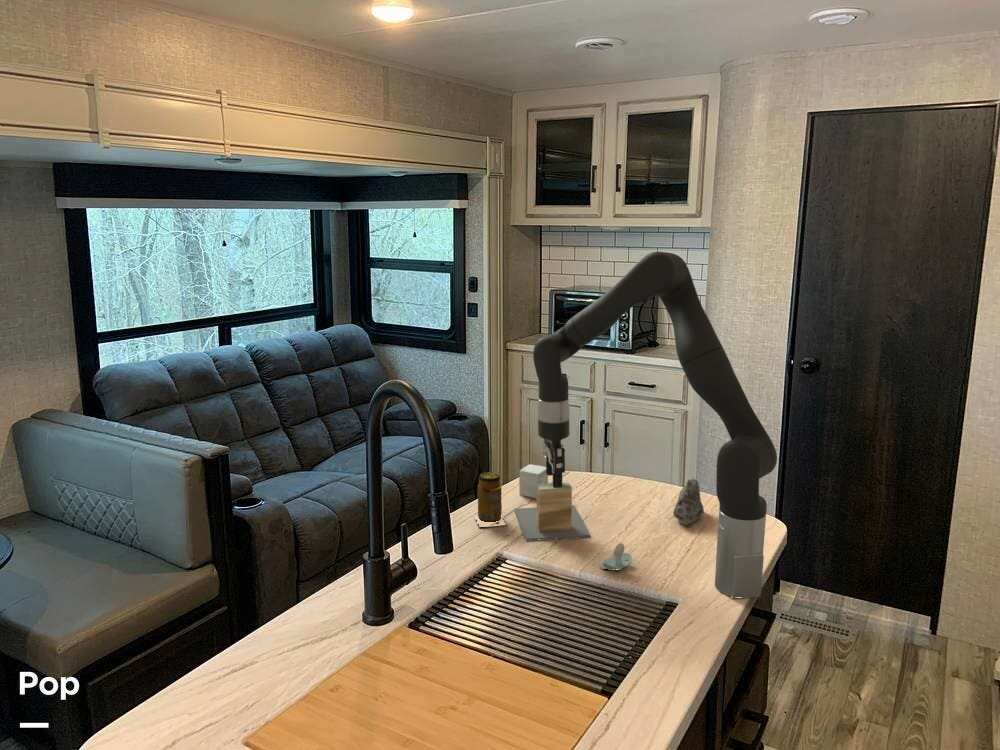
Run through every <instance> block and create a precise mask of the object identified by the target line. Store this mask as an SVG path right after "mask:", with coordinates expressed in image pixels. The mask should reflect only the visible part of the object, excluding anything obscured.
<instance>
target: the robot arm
mask: <svg viewBox="0 0 1000 750" xmlns="http://www.w3.org/2000/svg"><path fill="white" fill-rule="evenodd" d="M657 296H658V297H659V299H660V300H661V302H662V303H663V306H664V308H665V310H666V311H667V313H668V316H669V318H670V320H671V323H672V326H673V332H674V333H673V334H674V340H675V350H676V354H677V358H678V361H679V363H680V365H681V368H682V370H683V372H684V374H685V378H686V379H687V381H688V384H689V385H690V387H691V388H692V389H693V391H694V392H695V393H696V395H698V396H699V397H700V398H701V399H702V401H704V402H705V404H707V405H708V406H709V407H710V408H711V409H712V410H714V412H716V413H717V415H718V417H719V418H720V419H721V421H722V423H723V425H724V426H725V428H726V431H727V432H728V434H729V437H730V440H729V441H727V442H725V443H724V444H722V446H721V447H720V449H719V451H718V453H717V459H716V481H715V482H716V483H715V484H716V487H715V488H716V489H715V490H716V497H717V501H718V503H719V511H718V524H717V538H716V540H717V542H716V543H717V544H716V558H715V575H714V577H715V578H714V586H715V588H716V589H717V590H718V591H719V590H720V591H721V593H722V592H723V593H722V594H724V593H726V594H728V595H727V596H729V595H731V596H732V597H733V598H735V597H749V598H759V597H762V595H761V594H762V585H763V584H762V583H763V572H764V560H765V558H764V557H765V556H764V549H765V546H764V545H765V534H766V521H767V510H768V509H767V508H768V505H767V504H768V503H767V501H766V499H765V498H764V497H763V496H762V495H760V492H759V491H760V479H761V478H764V477H765V476H767V475H769V474H770V473H772V472H773V470H774V469H775V468H776V466H777V462H778V461H777V460H778V454H777V451H776V448H775V445H774V443H773V441H772V439H771V437H770V436H769V434H768V432H767V431H766V430H765V428H764V426H763V424H762V422H761V421H760V419H759V418H758V416H757V414H756V413H755V411H754V409H753V407H752V406H751V404H750V402H749V400H748V397H747V396H746V394H745V391H744V389H743V386H741V383H740V381H739V379H738V377H737V376H736V373H735V371H734V368H733V366H732V363H731V361H730V359H729V357H728V355H727V353H726V351H725V349H724V347H723V345H722V343H721V340H719V337H718V336H717V333H716V331H715V328H714V327H713V325H712V323H711V320H710V319H709V316H708V315H707V314H706V312H705V309H704V308H703V306H702V303H701V300H700V298H699V295H698V292H697V289H696V286H695V284H694V280H693V278H692V275H691V272H690V270H689V267H688V265H687V263H686V262H685V260H684V259H683V258H682V257H680V256H679V255H678V254H675V253H672V252H667V251H652V252H650V253H648V254H646V255H644V256H643V257H642V258H641V259H640V260H638V262H637V263H635V265H634V266H632V268H630V270H629V271H628V272H627V273H626V274H625V275H624V276H623V277H622V278H621V279H620V280H619V281H617V283H615V285H612V287H611V288H610V289H609V290H608V291H606V292H605V293H604V294H603V295H601V296H600V297H599V298H597V299H596V300H594V301H593V302H592V303H591V304H590V303H589V304H588V305H587V306H586V307H584V308H583V309H582V310H581V311H579V312H578V313H576V314H575V315H573V316H572V317H570V319H568V321H567V322H566V323H565V325H563V327H560V329H558V330H557V331H554V332H553V333H551V334H549V335H548V334H547V335H545V336H542V337H540V338H539V339H538V340H537V341H536V342H535V344H534V347H533V353H532V355H533V356H532V359H533V363H534V369H535V373H536V376H537V379H538V404H537V435H538V437H540V438H541V439H543V453H542V454H543V456H544V459H545V467H546V474H547V475H548V477H552V483H553V487H554V488H561V487H562V483H563V474H564V473H566V461H565V459H566V458H565V457H566V456H565V453H566V449H565V448H564V444H562V440H565V439H567V438H569V436H570V403H569V401H570V400H569V378H568V377H567V375H565V374H563V373H562V366H561V363H562V362H565V361H568V360H569V358H571V357H573V356H574V355H576V353H578V352H579V351H580V350H581V349H582V348H584V346H586V345H588V344H590V343H591V342H593V341H595V340H596V339H597V338H599V337H600V336H602V335H604V334H605V333H606V332H607V331H608V330H610V329H611V328H612V327H613V326H614V325H615V324H616V323H617V322H618V321H619V319H621V317H622V316H623V315H625V313H626V312H628V311H629V310H630V309H632V308H633V307H634V306H637V305H638V304H640V303H641V302H645V300H649V299H650V298H653V297H657ZM557 465H559V467H557ZM720 591H719V592H720ZM726 594H725V595H726ZM749 598H748V599H749Z"/></svg>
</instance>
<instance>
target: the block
mask: <svg viewBox="0 0 1000 750" xmlns="http://www.w3.org/2000/svg"><path fill="white" fill-rule="evenodd" d="M572 492H573V487H572V485H571V484H570V482H569V481H566V482H562V487H561V488H554V487H553V482H551V483H550V482H548V483H547V484H537V498H536V507H537V528H538V530H539V532H549V531H564V530H571V517H572V505H573V503H572V500H573V497H572V496H573V493H572Z"/></svg>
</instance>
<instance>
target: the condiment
mask: <svg viewBox="0 0 1000 750" xmlns="http://www.w3.org/2000/svg"><path fill="white" fill-rule="evenodd" d="M500 479H501V477H500V474H498V473H496V472H492V471H490V472H483V473H481V474H480V475H479V476H478V485H477V514H478V517H479V519H480V520H481V521H484V522H496V521H499V520H500V519H501V515H502V509H503V508H502V507H503V506H502V485H501V481H500Z"/></svg>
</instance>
